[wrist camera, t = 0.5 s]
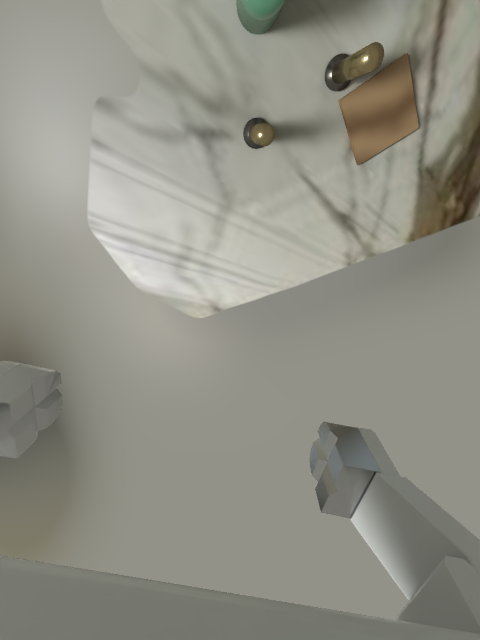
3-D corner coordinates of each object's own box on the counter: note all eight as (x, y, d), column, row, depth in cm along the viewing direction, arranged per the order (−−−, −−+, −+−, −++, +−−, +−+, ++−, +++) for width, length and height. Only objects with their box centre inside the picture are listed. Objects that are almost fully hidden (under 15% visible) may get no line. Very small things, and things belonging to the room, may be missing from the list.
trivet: (338, 100, 41) (340, 100, 40) (404, 54, 38) (407, 53, 38) (356, 164, 46) (358, 165, 45) (415, 127, 43) (418, 127, 43)
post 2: (320, 67, 38) (351, 48, 30) (347, 47, 37) (386, 21, 28) (330, 97, 41) (360, 89, 32) (355, 79, 39) (394, 65, 31)
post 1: (238, 128, 42) (243, 128, 33) (260, 112, 41) (271, 107, 32) (251, 153, 44) (258, 160, 35) (272, 138, 43) (285, 141, 34)
